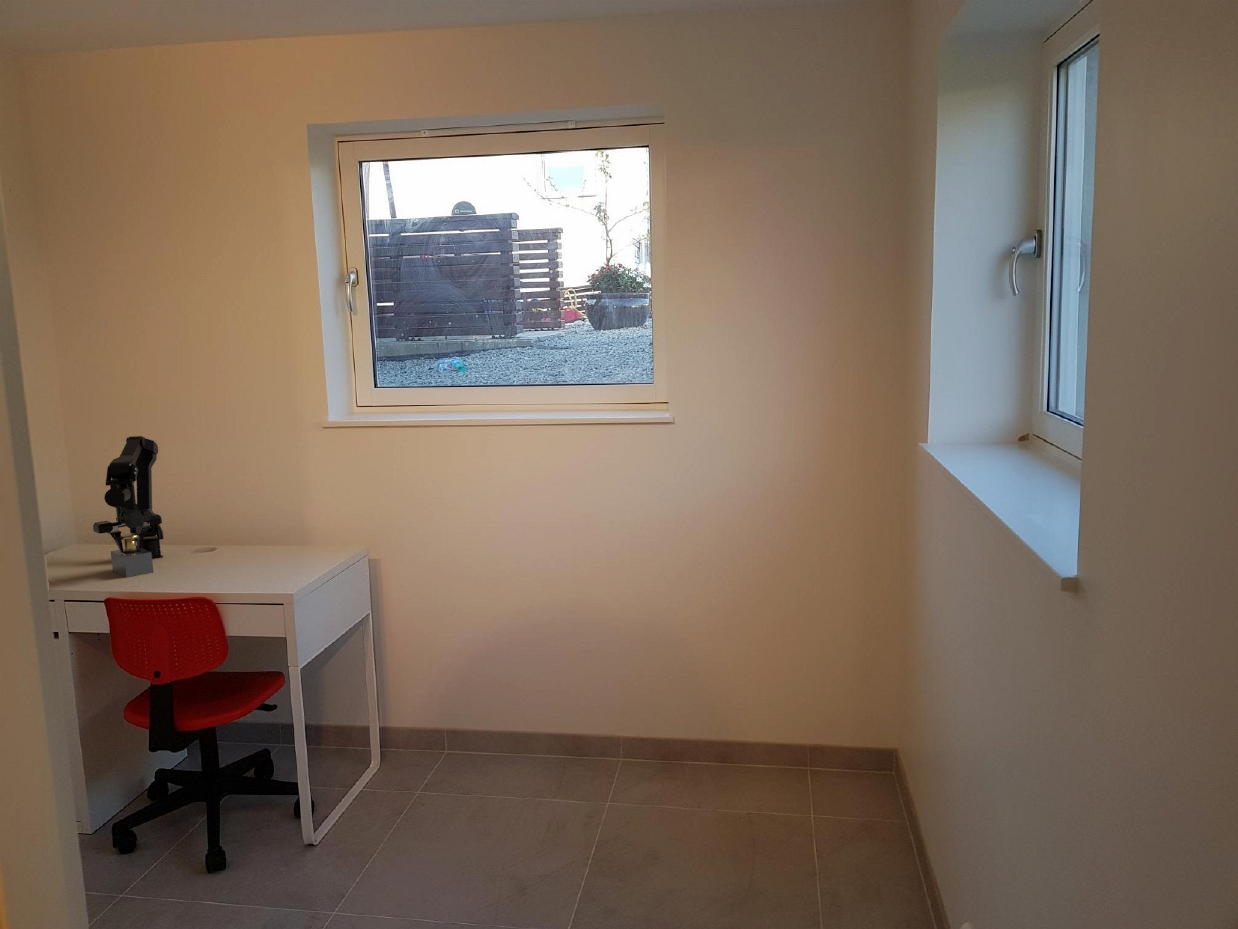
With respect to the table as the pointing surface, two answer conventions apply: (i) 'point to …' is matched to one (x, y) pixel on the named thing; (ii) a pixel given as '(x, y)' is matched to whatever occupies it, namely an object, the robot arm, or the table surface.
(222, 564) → the table surface
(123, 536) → the bushing
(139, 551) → the jig
